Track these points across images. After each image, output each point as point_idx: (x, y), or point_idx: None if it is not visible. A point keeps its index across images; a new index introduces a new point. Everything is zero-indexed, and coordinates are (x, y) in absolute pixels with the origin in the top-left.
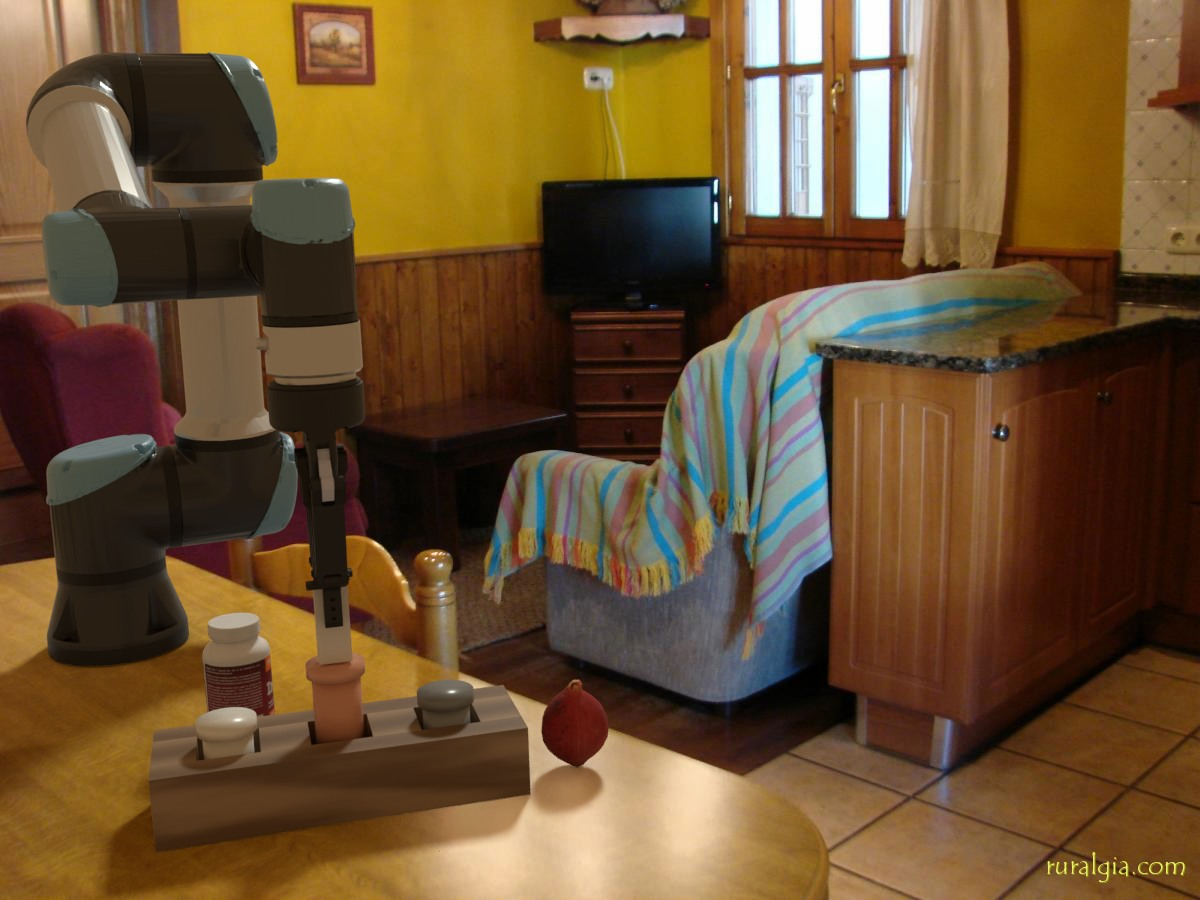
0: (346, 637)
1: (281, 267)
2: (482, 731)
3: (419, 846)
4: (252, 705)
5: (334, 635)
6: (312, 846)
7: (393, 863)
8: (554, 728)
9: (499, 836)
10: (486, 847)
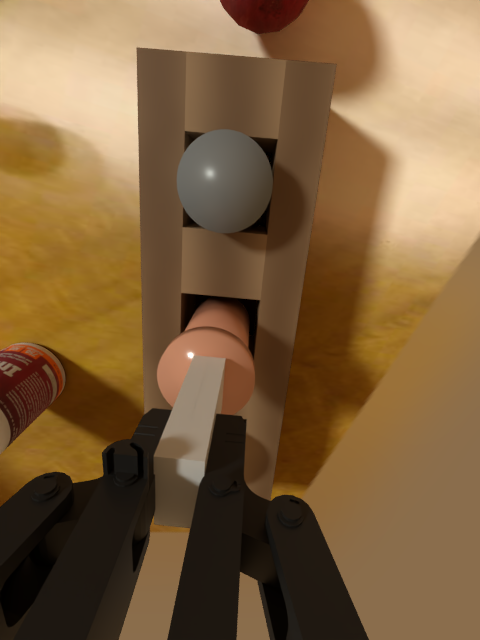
0: (220, 388)
1: None
2: (315, 147)
3: (368, 258)
4: (41, 384)
5: (218, 412)
6: (316, 349)
7: (387, 289)
8: (294, 4)
9: (394, 170)
10: (409, 192)
